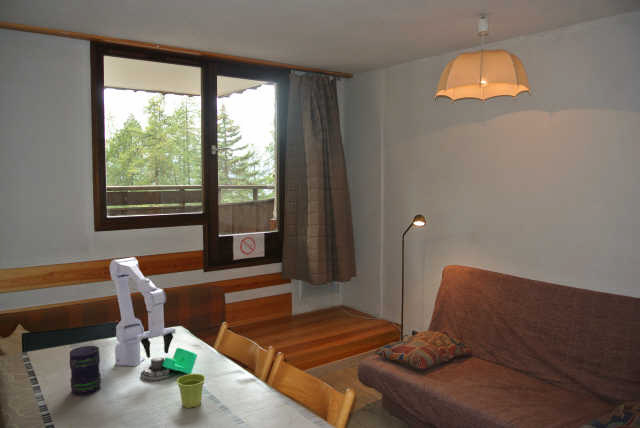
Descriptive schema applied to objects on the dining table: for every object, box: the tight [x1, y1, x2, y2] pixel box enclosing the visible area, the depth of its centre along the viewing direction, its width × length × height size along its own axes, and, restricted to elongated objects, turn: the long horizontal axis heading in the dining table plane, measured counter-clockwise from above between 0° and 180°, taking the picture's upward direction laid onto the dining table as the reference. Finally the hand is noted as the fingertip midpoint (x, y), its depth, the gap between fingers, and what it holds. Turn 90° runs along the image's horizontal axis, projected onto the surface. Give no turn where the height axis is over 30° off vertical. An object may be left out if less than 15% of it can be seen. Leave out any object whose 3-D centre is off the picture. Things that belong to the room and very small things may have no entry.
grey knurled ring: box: [140, 363, 176, 382], centre depth 187 cm, size 13×13×3 cm
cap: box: [150, 356, 165, 370], centre depth 187 cm, size 5×5×5 cm
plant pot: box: [176, 373, 206, 409], centre depth 161 cm, size 9×9×9 cm
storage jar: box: [69, 345, 102, 397], centre depth 173 cm, size 10×10×15 cm
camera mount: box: [163, 347, 198, 374], centre depth 188 cm, size 12×8×10 cm
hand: (157, 354), depth 187 cm, fingers open, 6 cm apart
